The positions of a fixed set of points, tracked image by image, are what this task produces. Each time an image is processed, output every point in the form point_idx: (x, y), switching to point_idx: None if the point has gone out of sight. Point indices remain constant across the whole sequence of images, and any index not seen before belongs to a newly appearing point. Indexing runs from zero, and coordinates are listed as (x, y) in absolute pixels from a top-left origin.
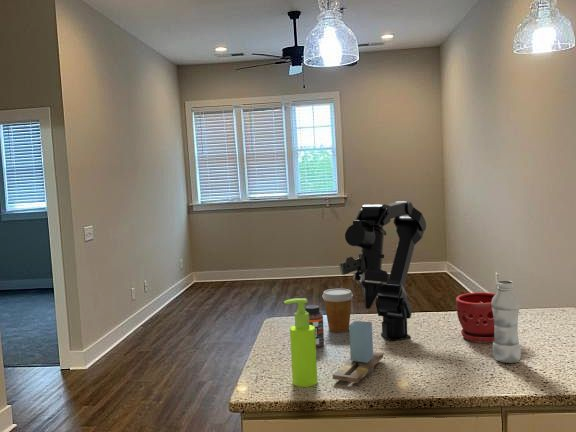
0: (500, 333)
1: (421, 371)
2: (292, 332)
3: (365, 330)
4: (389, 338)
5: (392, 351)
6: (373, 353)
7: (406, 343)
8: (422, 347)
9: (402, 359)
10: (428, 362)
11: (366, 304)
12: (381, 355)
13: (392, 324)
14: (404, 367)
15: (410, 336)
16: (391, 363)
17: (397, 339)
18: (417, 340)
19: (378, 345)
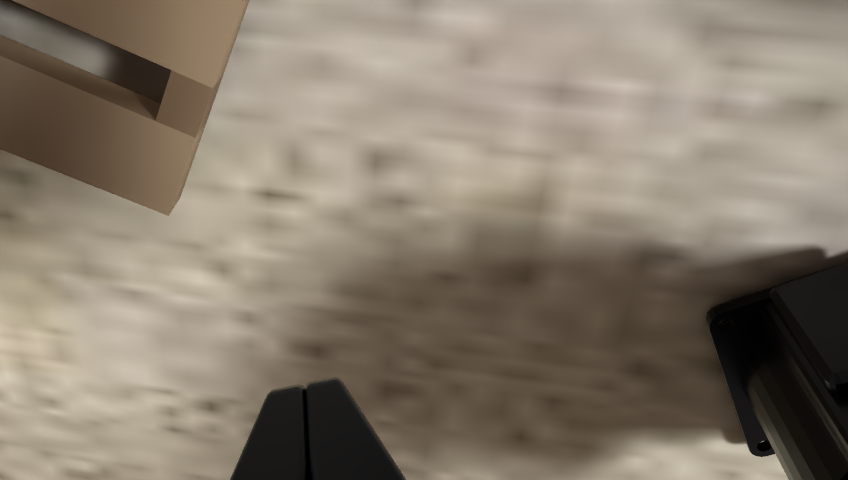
0: None
1: (6, 395)
2: None
3: None
4: (748, 303)
5: (438, 277)
6: (146, 124)
7: (622, 398)
8: (505, 475)
9: (241, 321)
10: (189, 458)
11: (247, 464)
12: (116, 191)
13: (812, 424)
14: (64, 309)
15: (755, 452)
16: (140, 233)
17: (718, 356)
18: (674, 472)
19: (624, 184)
